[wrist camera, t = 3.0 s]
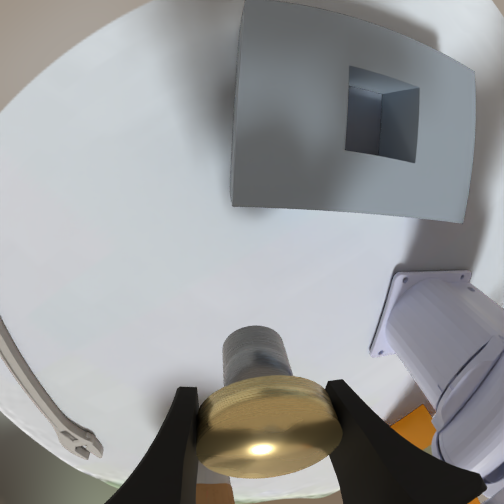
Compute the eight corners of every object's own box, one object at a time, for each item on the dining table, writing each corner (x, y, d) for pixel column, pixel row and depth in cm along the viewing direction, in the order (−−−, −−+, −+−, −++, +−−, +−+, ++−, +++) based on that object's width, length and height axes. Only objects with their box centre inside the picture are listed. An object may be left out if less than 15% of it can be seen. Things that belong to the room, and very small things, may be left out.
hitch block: (437, 76, 14) (474, 71, 10) (426, 207, 18) (463, 223, 14) (239, 27, 12) (245, -3, 9) (229, 191, 16) (232, 206, 12)
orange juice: (431, 419, 31) (484, 513, 12) (382, 451, 32) (424, 549, 13) (423, 402, 28) (488, 515, 9) (366, 439, 29) (414, 558, 11)
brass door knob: (312, 304, 12) (361, 401, 7) (296, 381, 14) (323, 469, 9) (198, 305, 11) (188, 415, 6) (202, 384, 13) (202, 479, 8)
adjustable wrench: (-23, 289, 17) (-33, 298, 15) (15, 287, 17) (4, 297, 16) (74, 447, 26) (71, 456, 24) (113, 453, 27) (111, 464, 25)
